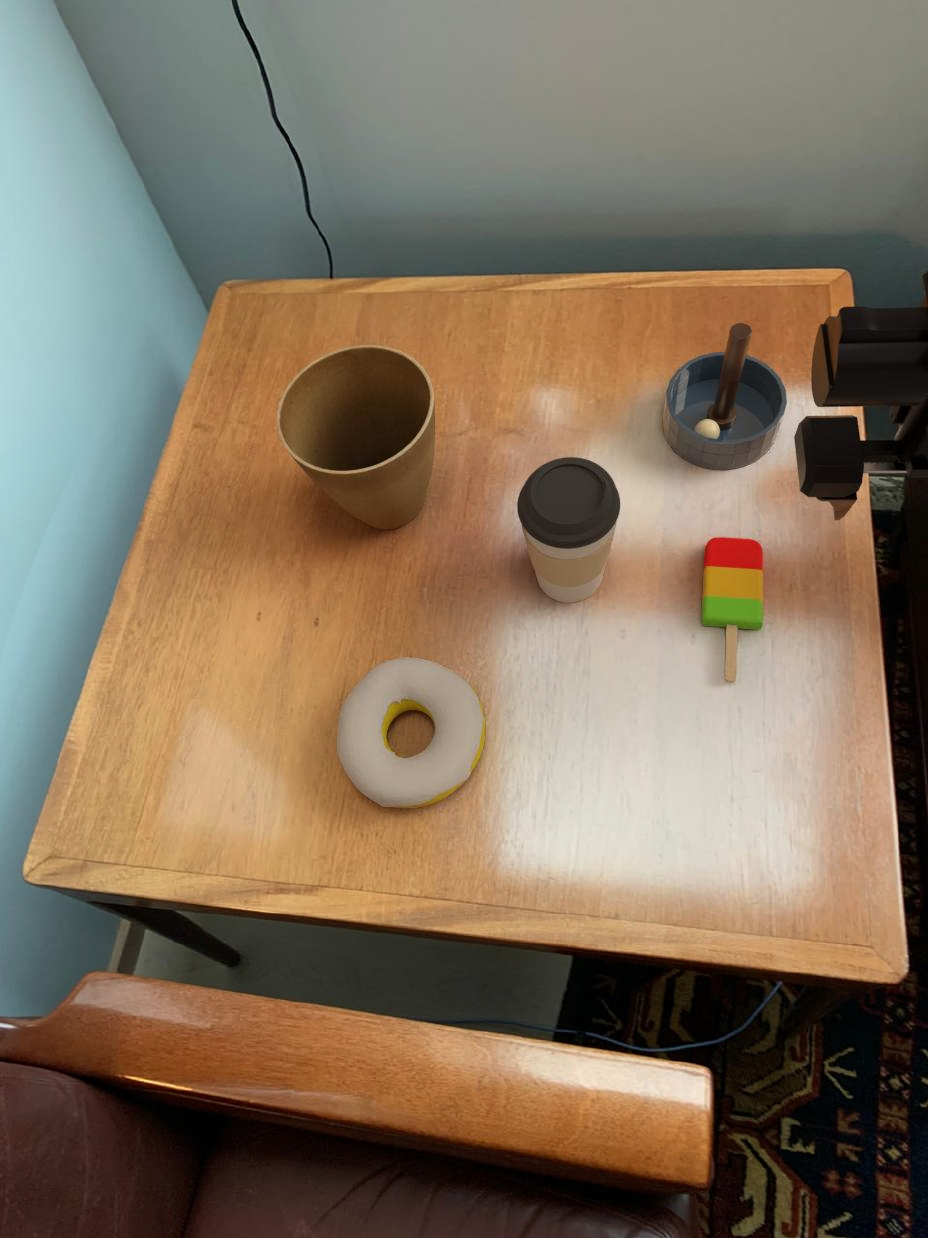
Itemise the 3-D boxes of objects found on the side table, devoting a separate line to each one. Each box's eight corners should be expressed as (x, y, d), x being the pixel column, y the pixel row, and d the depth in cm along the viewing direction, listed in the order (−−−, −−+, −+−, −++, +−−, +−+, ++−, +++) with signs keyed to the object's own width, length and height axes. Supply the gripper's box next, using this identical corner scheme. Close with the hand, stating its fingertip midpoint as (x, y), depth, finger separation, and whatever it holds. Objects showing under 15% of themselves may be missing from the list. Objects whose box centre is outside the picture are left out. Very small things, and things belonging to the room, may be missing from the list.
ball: (704, 417, 92) (713, 411, 89) (718, 437, 92) (728, 431, 89) (685, 432, 92) (694, 425, 89) (699, 451, 92) (709, 446, 89)
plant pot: (411, 424, 98) (382, 319, 84) (482, 512, 92) (464, 416, 78) (298, 490, 96) (248, 394, 82) (363, 586, 90) (322, 500, 76)
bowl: (715, 362, 97) (721, 333, 93) (801, 423, 92) (811, 394, 88) (639, 424, 94) (642, 397, 90) (723, 489, 90) (730, 464, 86)
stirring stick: (740, 415, 92) (763, 326, 81) (726, 434, 92) (747, 347, 80) (715, 404, 94) (734, 314, 82) (700, 423, 93) (718, 335, 81)
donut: (444, 840, 77) (436, 828, 73) (315, 777, 81) (300, 762, 77) (511, 705, 82) (507, 686, 78) (386, 652, 86) (376, 630, 82)
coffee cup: (516, 604, 87) (505, 525, 73) (535, 528, 90) (527, 439, 77) (606, 619, 85) (611, 540, 71) (621, 540, 88) (629, 451, 75)
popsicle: (760, 547, 86) (763, 537, 85) (760, 687, 80) (763, 680, 78) (703, 543, 87) (705, 534, 86) (698, 682, 81) (701, 675, 79)
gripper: (1095, 294, 60) (997, 435, 74) (813, 303, 62) (770, 437, 76) (1136, 424, 55) (1023, 548, 69) (828, 428, 58) (780, 546, 72)
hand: (894, 515), depth 72 cm, fingers open, 9 cm apart
